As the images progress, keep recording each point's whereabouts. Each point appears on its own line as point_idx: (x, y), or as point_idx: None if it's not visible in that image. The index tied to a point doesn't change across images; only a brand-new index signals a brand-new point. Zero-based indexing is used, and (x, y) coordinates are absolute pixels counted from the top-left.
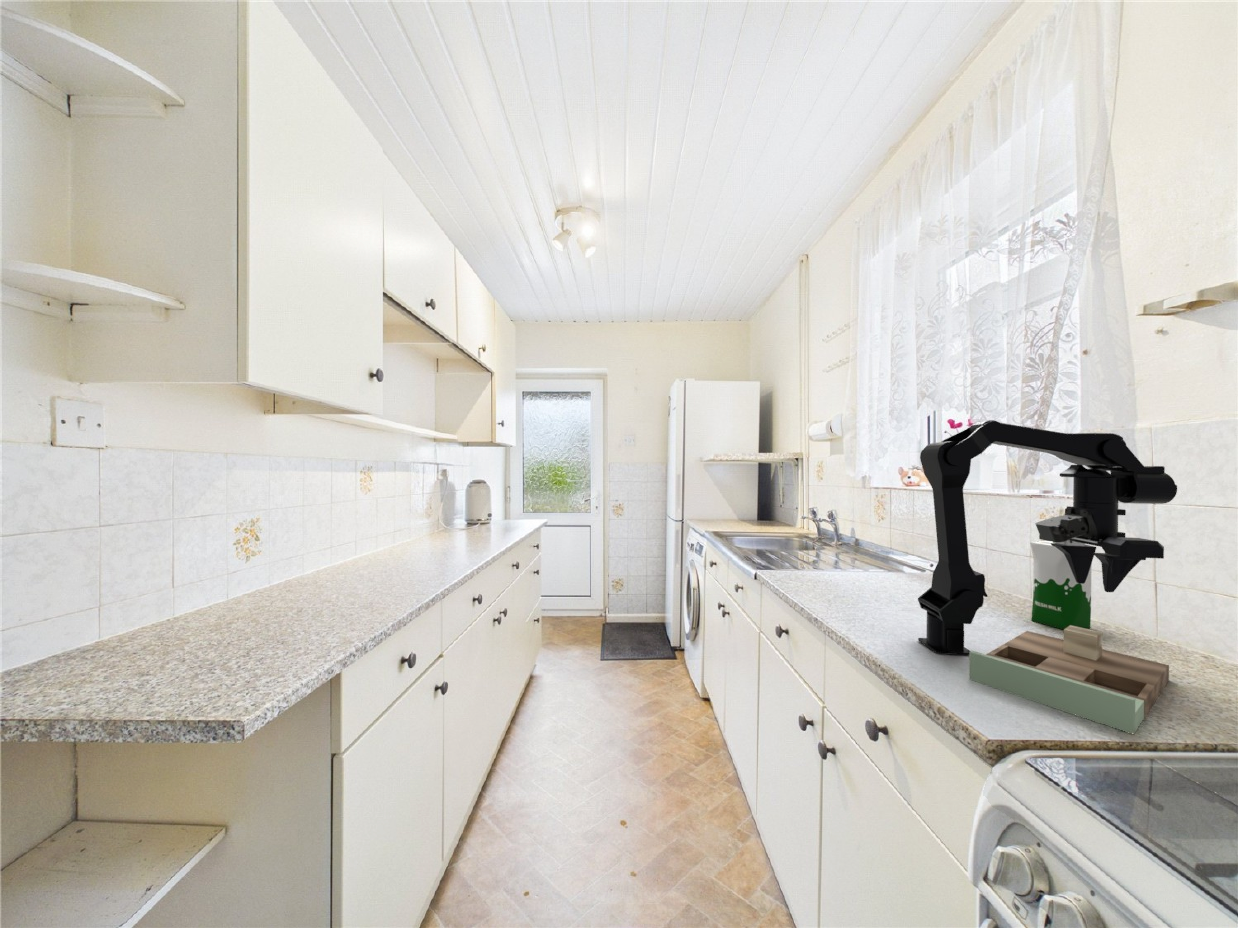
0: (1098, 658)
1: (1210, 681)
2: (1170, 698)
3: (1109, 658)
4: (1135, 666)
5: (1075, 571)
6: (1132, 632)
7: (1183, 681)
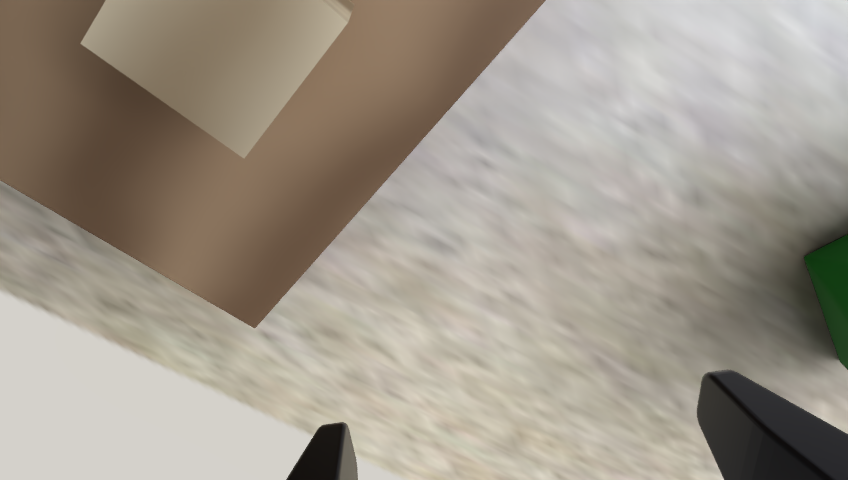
0: None
1: (319, 406)
2: None
3: None
4: (155, 180)
5: (813, 467)
6: None
7: (278, 330)
